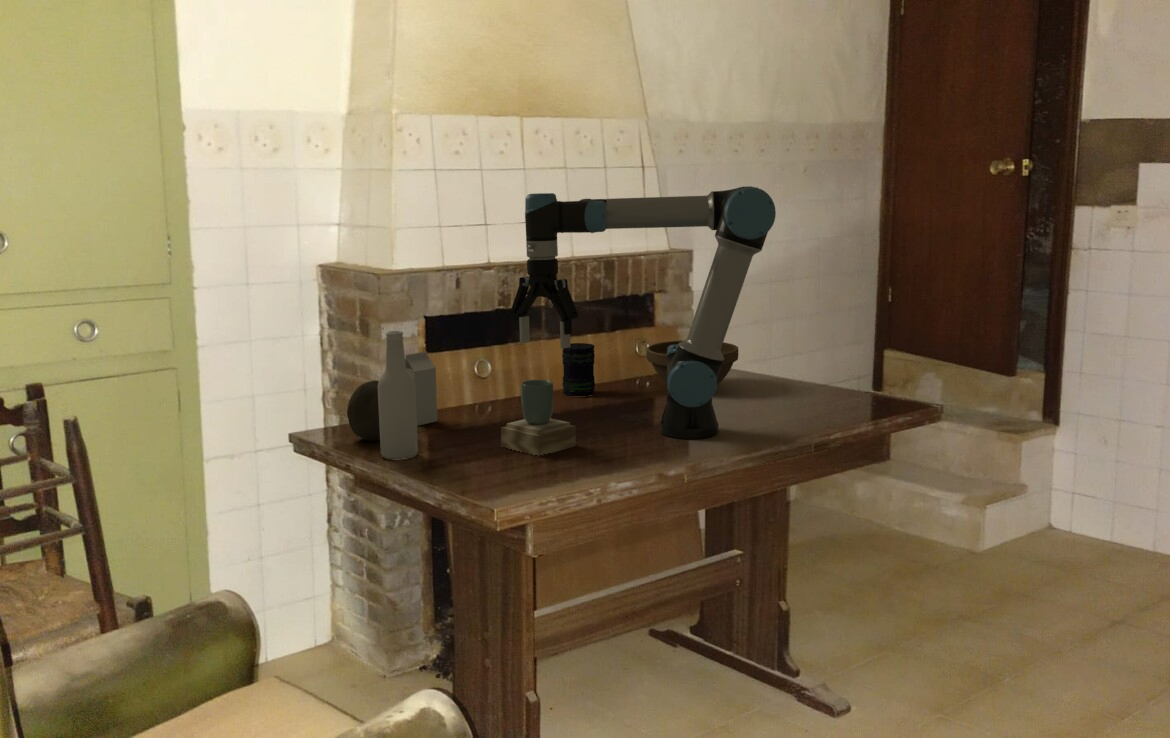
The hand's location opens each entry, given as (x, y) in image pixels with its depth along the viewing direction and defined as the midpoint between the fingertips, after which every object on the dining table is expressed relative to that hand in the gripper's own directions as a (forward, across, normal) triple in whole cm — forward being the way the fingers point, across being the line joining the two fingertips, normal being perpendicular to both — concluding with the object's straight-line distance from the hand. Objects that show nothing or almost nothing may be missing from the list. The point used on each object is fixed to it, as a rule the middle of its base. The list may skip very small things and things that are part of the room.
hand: (544, 345), depth 257 cm
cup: (+19, 0, -3) cm, 19 cm away
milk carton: (+24, -43, -5) cm, 50 cm away
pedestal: (+25, 0, -3) cm, 25 cm away
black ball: (+24, -36, -24) cm, 50 cm away
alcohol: (+24, -20, -31) cm, 44 cm away
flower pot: (+26, -12, +78) cm, 83 cm away
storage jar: (+25, -33, +50) cm, 65 cm away
